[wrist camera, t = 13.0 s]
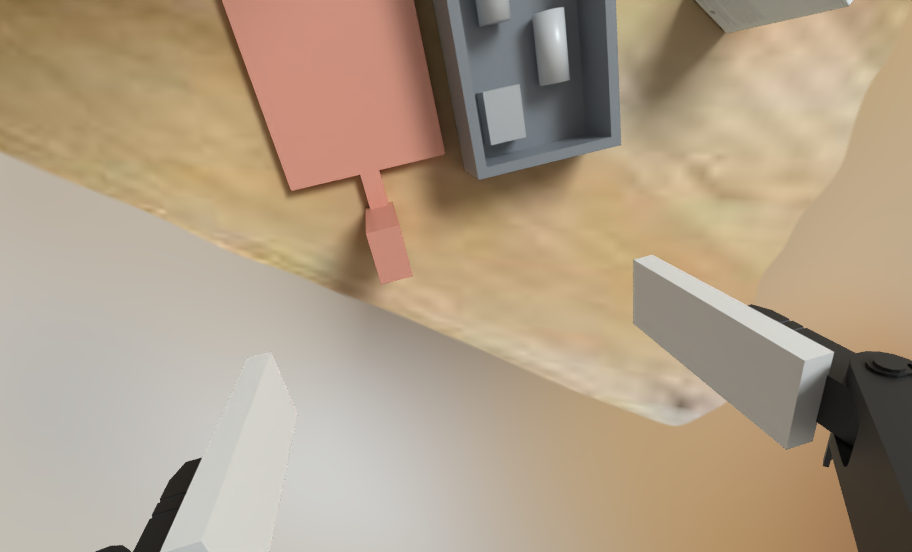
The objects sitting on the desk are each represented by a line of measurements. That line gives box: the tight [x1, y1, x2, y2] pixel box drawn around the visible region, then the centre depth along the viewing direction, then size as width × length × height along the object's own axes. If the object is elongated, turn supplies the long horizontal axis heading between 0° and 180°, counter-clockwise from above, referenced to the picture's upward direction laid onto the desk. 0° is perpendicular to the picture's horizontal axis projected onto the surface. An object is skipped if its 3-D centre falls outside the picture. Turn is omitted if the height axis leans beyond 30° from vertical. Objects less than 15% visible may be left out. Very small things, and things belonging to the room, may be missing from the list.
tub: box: [432, 0, 621, 180], centre depth 32 cm, size 18×12×5 cm, turn 12°
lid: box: [222, 0, 445, 284], centre depth 30 cm, size 26×13×8 cm, turn 12°
